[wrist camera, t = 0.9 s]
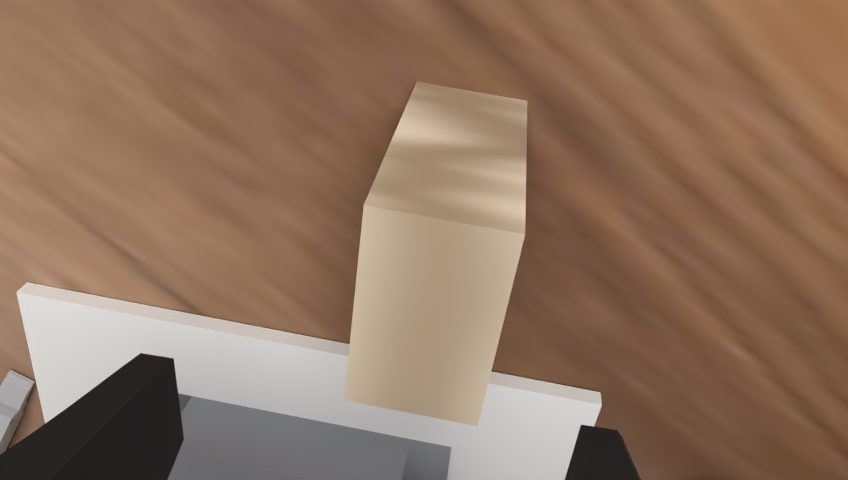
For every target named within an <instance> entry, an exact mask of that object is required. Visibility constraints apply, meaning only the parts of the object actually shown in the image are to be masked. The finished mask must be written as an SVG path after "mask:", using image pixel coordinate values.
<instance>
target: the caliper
mask: <svg viewBox="0 0 848 480" xmlns="http://www.w3.org/2000/svg"><path fill="white" fill-rule="evenodd" d="M34 384H35V381H33V380H31V379H29V378H27V377H25V376H23V375H21V374H19V373H17V372H15V371H13V370H10V371H9V372H8V374H7V376H6V378H5V379H4V380H3V382H2V384H1V386H0V455H1V454H2V453H4V452H5V451H6V450H7V447H8V445H9V443H10V441H11V439H12V437H13V435H14V433H15V431H16V429H17V427H18V425H19V423H20V420H21V418H22V415H23V413H24V410H25V407H26V405H27V402H28V401H27V399H28V397H29V395H30V393H31V391H32V389H33V387H34Z"/></svg>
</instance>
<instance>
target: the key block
mask: <svg viewBox="0 0 848 480" xmlns="http://www.w3.org/2000/svg"><path fill="white" fill-rule="evenodd" d="M526 150H527V101H524V100H519V99H513V98H507V97H502V96H496V95H490V94H484V93H479V92H473V91H467V90H462V89H456V88H450V87H445V86H439V85H433V84H428V83H422V82H416V84H415V87H414V89H413V91H412V94H411V96H410V98H409V101H408V103H407V105H406V108H405V110H404V112H403V115H402V117H401V119H400V122H399V124H398V126H397V129H396V131H395V133H394V136H393V138H392V140H391V143H390V145H389V147H388V150H387V152H386V154H385V157H384V159H383V161H382V164H381V166H380V168H379V171H378V173H377V175H376V178H375V180H374V182H373V185H372V187H371V189H370V192H369V194H368V196H367V199H366V201H365V203H364V208H363V218H362V228H361V238H360V248H359V257H358V267H357V277H356V287H355V297H354V307H353V317H352V327H351V337H350V346H349V356H348V366H347V376H346V386H345V396H344V400H346V401H351V402H356V403H361V404H366V405H372V406H377V407H382V408H387V409H392V410H397V411H402V412H407V413H413V414H418V415H423V416H428V417H433V418H438V419H443V420H449V421H454V422H459V423H464V424H469V425H474V426H478V423H479V419H480V414H481V410H482V406H483V402H484V398H485V394H486V390H487V386H488V382H489V378H490V374H491V370H492V366H493V362H494V358H495V354H496V350H497V346H498V342H499V338H500V334H501V330H502V326H503V322H504V318H505V314H506V310H507V306H508V302H509V298H510V294H511V290H512V286H513V282H514V278H515V274H516V270H517V266H518V261H519V257H520V253H521V249H522V245H523V241H524V237H525V213H526Z"/></svg>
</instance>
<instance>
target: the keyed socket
mask: <svg viewBox="0 0 848 480" xmlns="http://www.w3.org/2000/svg"><path fill="white" fill-rule="evenodd" d="M17 297H18V301H19V306H20V311H21V315H22V320H23V324H24V329H25V333H26V338H27V343H28V347H29V352H30V356H31V361H32V365H33V370H34V375H35V379H36V384H37V388H38V393H39V397H40V402H41V407H42V411H43V416H44V420H45V423H47V422H48V421H50V420H51V419H52V418H54V417H55V416H57V415H58V414H59V413H61V412H62V411H63V410H65V409H66V408H68V407H69V406H70V405H72V404H73V403H74V402H76V401H77V400H78V399H80V398H81V397H82V396H84V395H85V394H86V393H88V392H89V391H90V390H92V389H93V388H94V387H96V386H97V385H98V384H100V383H101V382H102V381H104V380H105V379H106V378H108V377H109V376H110V375H112V374H113V373H114V372H116V371H117V370H118V369H120V368H121V367H122V366H124V365H125V364H126V363H128V362H129V361H131V360H132V359H133V358H135V357H136V356H137V355H139V354H140V353H143V354H150V355H156V356H162V357H168V358H174V365H175V373H176V380H177V388H178V396H179V404H180V412H181V419H182V427H183V435H184V441H183V443H182V446H181V448H180V450H179V453H178V455H177V458H176V460H175V463H174V465H173V468H172V470H171V472H170V475H169V477H168V479H167V480H565V477H566V474H567V470H568V467H569V463H570V460H571V457H572V453H573V450H574V446H575V443H576V440H577V436H578V433H579V430H580V426H581V425H587V426H593V427H594V425H595V422H596V420H597V417H598V414H599V411H600V409H601V406H602V402H601V393H600V392H596V391H591V390H586V389H580V388H575V387H570V386H565V385H560V384H554V383H549V382H544V381H539V380H534V379H528V378H523V377H518V376H513V375H508V374H502V373H497V372H492V371H491V374H490V378H489V382H488V386H487V390H486V394H485V398H484V402H483V406H482V410H481V414H480V419H479V423H478V426H474V425H469V424H464V423H459V422H454V421H449V420H443V419H438V418H433V417H428V416H423V415H418V414H413V413H407V412H402V411H397V410H392V409H387V408H382V407H377V406H372V405H366V404H361V403H356V402H351V401H346V400H344V396H345V386H346V376H347V366H348V356H349V346H350V344H346V343H341V342H336V341H330V340H325V339H320V338H315V337H310V336H304V335H299V334H294V333H289V332H284V331H278V330H273V329H268V328H263V327H258V326H252V325H247V324H242V323H237V322H232V321H226V320H221V319H216V318H211V317H205V316H200V315H195V314H190V313H185V312H179V311H174V310H169V309H164V308H159V307H153V306H148V305H143V304H138V303H133V302H127V301H122V300H117V299H112V298H106V297H101V296H96V295H91V294H86V293H80V292H75V291H70V290H65V289H60V288H54V287H49V286H44V285H39V284H34V283H28V282H27V283H26V284H25V285H24V286H23V287H22V288H21V289H20V290H18V291H17Z"/></svg>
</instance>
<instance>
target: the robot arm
mask: <svg viewBox="0 0 848 480" xmlns="http://www.w3.org/2000/svg"><path fill="white" fill-rule="evenodd" d="M183 441H184V435H183V427H182V419H181V412H180V404H179V396H178V388H177V380H176V373H175V365H174V358H168V357H162V356H156V355H150V354H143V353H140V354H139V355H137V356H136V357H135V358H133V359H132V360H131V361H129V362H128V363H126V364H125V365H124V366H122V367H121V368H120V369H118V370H117V371H116V372H114V373H113V374H112V375H110V376H109V377H108V378H106V379H105V380H104V381H102V382H101V383H100V384H98V385H97V386H96V387H94V388H93V389H92V390H90V391H89V392H88V393H86V394H85V395H84V396H82V397H81V398H80V399H78V400H77V401H76V402H74V403H73V404H72V405H70V406H69V407H68V408H66V409H65V410H63V411H62V412H61V413H59V414H58V415H57V416H55V417H54V418H52V419H51V420H50V421H48V422H47V423H45V424H44V425H43V426H41V427H40V428H39V429H37V430H36V431H34V432H33V433H32V434H30V435H29V436H27V437H26V438H24V439H23V440H22V441H20V442H19V443H17V444H16V445H14V446H13V447H11V448H10V449H8V450H7V451H5V452H4V453H2V454H1V455H0V480H167V479H168V477H169V475H170V472H171V470H172V468H173V465H174V463H175V460H176V458H177V455H178V453H179V450H180V448H181V446H182V443H183ZM565 480H641V479H640V477H639V475H638V473H637V470H636V468H635V466H634V464H633V462H632V459H631V457H630V455H629V452H628V450H627V448H626V446H625V443H624V441H623V438H622V436H621V435H620V434H619V432H618V431H617V430H612V429H606V428H599V427H593V426H587V425H581V426H580V430H579V433H578V436H577V440H576V443H575V446H574V450H573V453H572V457H571V460H570V463H569V467H568V470H567V474H566V477H565Z"/></svg>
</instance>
